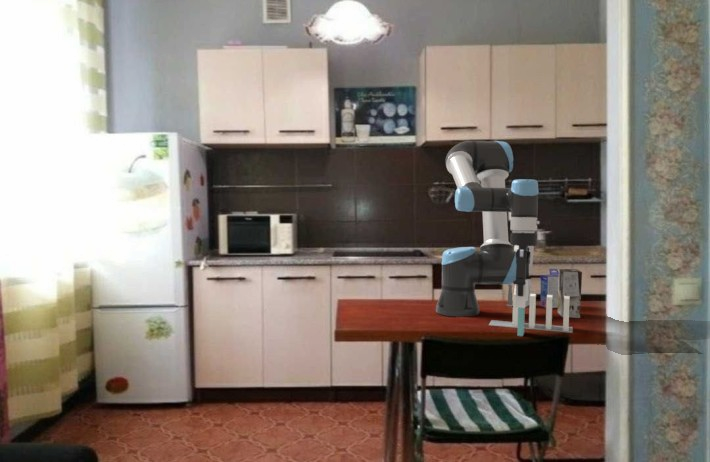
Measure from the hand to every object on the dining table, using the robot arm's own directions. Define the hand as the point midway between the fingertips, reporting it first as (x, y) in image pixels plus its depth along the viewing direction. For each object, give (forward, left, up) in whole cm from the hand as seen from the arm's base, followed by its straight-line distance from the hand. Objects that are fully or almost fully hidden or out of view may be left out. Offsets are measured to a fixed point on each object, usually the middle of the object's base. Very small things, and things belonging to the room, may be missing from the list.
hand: (522, 303), depth 162 cm
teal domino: (0, 0, -10) cm, 10 cm away
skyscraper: (-4, +51, -10) cm, 52 cm away
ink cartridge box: (+8, +54, -10) cm, 55 cm away
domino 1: (-3, +13, -9) cm, 16 cm away
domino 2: (+2, +13, -9) cm, 16 cm away
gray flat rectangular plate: (+2, +13, -10) cm, 16 cm away
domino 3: (+7, +13, -9) cm, 17 cm away
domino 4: (+12, +13, -9) cm, 20 cm away
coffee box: (+13, +39, -10) cm, 42 cm away
